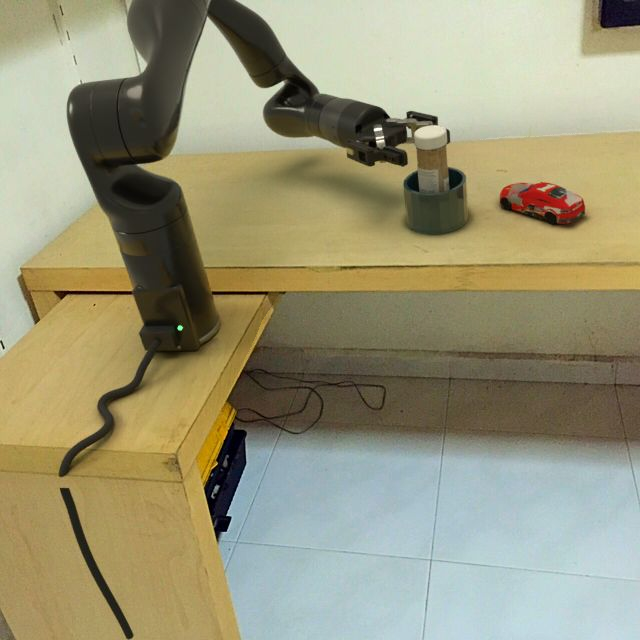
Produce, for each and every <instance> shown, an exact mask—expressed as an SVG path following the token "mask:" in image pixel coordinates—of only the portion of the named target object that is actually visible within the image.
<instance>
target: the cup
mask: <svg viewBox="0 0 640 640" xmlns="http://www.w3.org/2000/svg"><path fill="white" fill-rule="evenodd" d="M448 175H449V189H450V190H448V191H444V192H439V193H420V191H419V180H418V170H415V171H413V172H412V173H410V174H408V175H407V176H406V177H405V178H404V179H403V183H402V186H403V196H404V207H405V208H404V209H405V216H406V217H405V218H406V223H407V226H408V228H410V229H411V230H412V231H413V232H415V233H419V234H421V235H422V234H423V235H431V236H432V235H434V236H435V235H444V234H449V233H452V232H455V231H457V230H459V229H461V228H462V227H464V225H466V223H467V222H468V219H469V215H468V214H469V213H468V211H469V210H468V208H469V207H468V188H467V187H468V186H467V175H466V174H465V173H464V171H462V170H460V169H459V168H455V167H451V166H448Z"/></svg>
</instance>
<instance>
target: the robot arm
mask: <svg viewBox="0 0 640 640" xmlns="http://www.w3.org/2000/svg"><path fill="white" fill-rule="evenodd" d="M208 19H209V21H210V22H211V23H212V24H213V25H214V26H215V27H216V29H217V30H218V31H219V32H220V34H221V35H222V36H223V38H224V39H225V40H226V41H227V43H228V45H229V46H230V47H231V49H232V50H233V52H234V53H235V55H236V57H237V58H238V61H239V62H240V63H241V66H243V68H244V70H245V72H246V73H247V75H248V77H249V78H250V79H251V81H252V82H253V84H254V85H255V86H256V87H258V88H260V89H269V88H272V87H274V86H276V85H279V84H281V83H282V82H283V83H284V84H283V85H282V86H281V87H280V88H279V89H278V90H277V91H276V92H275V93H274V94H272V96H271V97H270V98H269V99H268V100H267V101H266V102H265V104H264V106H263V108H262V118H263V121H264V123H265V125H266V127H267V128H269V130H270V131H272V132H273V133H275V134H276V135H279V136H281V137H283V138H291V139H297V138H312V137H313V138H314V137H316V138H319V139H322V140H325V141H328V142H330V143H332V144H333V145H335V146H337V147H340V148H343V149H345V151H346V158H348V159H350V160H352V161H353V162H356V163H359V164H362V165H364V166H366V167H371V168H372V167H375V166H376V163H377V162H378V163H379V164H386V163H388V164H391V165H394V166H399V167H402V168H404V167H406V166H408V165H409V159H408V153H407V151H406V150H404V149H401V148H398V146H400V145H409V144H412V145H413V144H415V142H414V133H415V131H416V130H418V129H419V128H422V127H425V126H431V125H437V126H439V117H438V116H437V115H432V114H428V113H423V112H420V111H419V112H418V111H414V110H409V111H406V112H405V115H406V117H405V118H403V119H402V118H397V117H390V115H389V114H388V113H387V112H386V111H385V109H384V108H383V107H380V106H378V105H375V104H372V103H371V104H370V103H367V102H364V101H360V100H356V99H352V98H347V97H346V98H345V97H340V96H339V97H338V96H335V95H332V94H327V93H321V92H320V90H319V88H318V87H317V86H316V84H315V83H314V82H313V81H312V80H311V79H310V78H309V77H307V76H306V74H304V73H303V72H302V71H301V70H300V69H299V68H298V67H297V65H295V63H294V62H293V61H292V60H291V59H290V57H288V55H287V53H286V51H285V49H284V47H283V46H282V44H281V42H280V41H279V39H278V37H277V35H276V34H275V31H274V30H273V28H272V27H271V26H270V24H269V23H268V22H267V21H266V20H265V19H264V18H263V17H262V16H261V15H259V14H258V13H257V12H255V11H254V10H252V9H251V8H249V7H248V6H246V5H244V4H243V3H241V2H239V1H238V0H131V2H130V4H129V8H128V10H127V15H126V27H127V32H128V35H129V39H130V41H131V43H132V45H133V47H134V48H135V50H136V51H137V54H138V55H139V56H140V57H141V58H142V59H143V61H144V62H145V64H146V66H145V68H144V69H143V71H142V72H141V73H140V74H137V75H135V76H129V77H128V76H127V77H121V78H110V79H103V80H94V81H87V82H83V83H80V84H77V85H76V86H74V87H73V88H72V89H71V91H70V92H69V95H68V97H67V101H66V122H67V126H68V127H67V128H68V131H69V135H70V138H71V142H72V144H73V147H74V149H75V152H76V155H77V157H78V159H79V161H80V164H81V166H82V168H83V171H84V173H85V175H86V177H87V180H88V182H89V184H90V185H89V186H90V187H91V190H92V193H93V195H94V197H95V200H96V202H97V204H98V206H99V208H100V209H101V211H102V212H103V213H104V214H105V215H106V217H107V219H108V222H109V224H110V227H111V229H112V233H113V235H114V238H115V240H116V244H117V247H118V249H119V252H120V255H121V258H122V261H123V263H124V266H125V270H126V272H127V275H128V277H129V281H130V283H131V286H132V290H131V293H132V296H133V299H134V303H135V305H136V307H137V310H138V313H139V315H140V318H141V321H142V324H143V325H142V327H141V329H140V330H139V332H138V335H139V338H140V341H141V344H142V347H143V349H144V351H146V352H145V354H144V356H143V357H142V359H141V360H140V363H139V365H138V367H137V370H136V372H135V375H134V377H133V379H132V380H131V381H130V382H129V383H128V384H126V385H124V386H123V387H119V388H116V389H112V390H110V391H107V392H105V393H104V394H102V395H101V397H99V399H98V401H97V405H96V408H97V411H98V413H99V414H100V415H101V416H102V417H103V419H104V423H103V425H102V426H101V427H100V428H99V429H98V430H96V431H95V432H94V433H92V434H90V435H88V436H87V437H85V438H83V439H81V440H80V441H78V442H77V443H76V444H73V446H72V447H71V448H70V449H69V450H68V451H67V452H66V453H65V455H64V457H63V459H62V461H61V463H60V465H59V470H58V477H59V478H64V477H65V476H67V475H68V474H69V471H70V468H71V465H72V463H73V461H74V460H75V458H76V457H77V456H78V455H79V454H80V453H81V452H82V451H84V450H85V449H87V448H89V447H90V446H92V445H94V444H96V443H97V442H100V441H101V440H102V439H103V438H105V437H106V436H107V435H108V434H109V433H110V432H111V431H112V429H113V427H114V424H115V423H114V422H115V417H114V415H113V414H112V412H111V411H110V410H109V408H107V404H108V403H109V402H110V401H111V400H113V399H116V398H120V397H123V396H126V395H128V394H131V393H132V392H133V391H135V390H136V389H137V388H138V387H139V386H140V384H141V383H142V382H143V380H144V376H145V374H146V371H147V369H148V367H149V365H150V363H151V362H152V360H153V358H154V357H155V354H156V353H157V352H181V351H182V352H185V351H198V350H199V349H200V347H201V345H203V344H204V343H206V342H207V341H209V340H211V338H213V337H214V336H215V335H216V334H217V333H218V331H219V329H220V327H221V324H222V323H221V321H222V320H221V316H220V313H219V311H218V309H217V305H216V302H215V298H214V295H213V292H212V288H211V285H210V282H209V278H208V275H207V271H206V268H205V264H204V260H203V257H202V253H201V250H200V246H199V243H198V240H197V236H196V232H195V229H194V225H193V221H192V218H191V215H190V211H189V208H188V204H187V200H186V197H185V194H184V191H183V189H182V186H181V185H180V184H179V183H178V182H177V181H176V180H174V179H172V178H171V177H168V176H165V175H161V174H158V173H154V172H152V171H149V170H147V169H145V168H143V167H141V165H144V164H153V163H157V162H160V161H163V160H165V159H166V158H168V157H169V156H170V155H171V153H172V151H173V149H174V147H175V145H176V142H177V139H178V135H179V131H180V125H181V121H182V120H181V119H182V114H183V110H184V109H183V107H184V102H185V96H186V91H187V85H188V79H189V76H190V72H191V69H192V65H193V62H194V59H195V56H196V55H195V54H196V51H197V49H198V47H199V43H200V41H201V38H202V36H203V33H204V29H205V26H206V23H207V20H208ZM408 129H409V130H410V131H411V136H408ZM445 129H446V131H447V143H446V144H447V145H448V144H449V145H450V143H451V132H450V130H449V129H448V128H445ZM59 491H60V495H61V497H62V501H63V503H64V505H65V509H66V511H67V514H68V517H69V521H70V524H71V528H72V530H73V534H74V537H75V540H76V542H77V545H78V547H79V550H80V552H81V555H82V557H83V559H84V562H85V564H86V566H87V568H88V570H89V572H90V575H91V576H92V578H93V580H94V583H96V585H97V588H98V589H99V591H100V592H101V594H102V596H103V598H104V600H105V601H106V603H107V605H108V606H109V608H110V610H111V612H112V614H113V615H114V617H115V619H116V620H117V623H118V625H119V626H120V628H121V630H122V633H123V634H124V636H125V638H126V640H131V639H133V638H134V635H135V634H134V632H133V630H132V628H131V626H130V623H129V622H128V619H127V617H126V615H125V613H124V612H123V610H122V608H121V606H120V604H119V603H118V600H117V599H116V597H115V596H114V594H113V592H112V590H111V589H110V586H109V585H108V583H107V581H106V579H105V578H104V576H103V574H102V572H101V570H100V568H99V566H98V564H97V562H96V560H95V558H94V555H93V553H92V551H91V548H90V546H89V543H88V541H87V538H86V535H85V532H84V529H83V526H82V523H81V520H80V516H79V513H78V510H77V506H76V504H75V500H74V498H73V494H72V492H71V489H70V487H59Z"/></svg>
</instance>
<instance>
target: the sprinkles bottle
mask: <svg viewBox="0 0 640 640" xmlns="http://www.w3.org/2000/svg"><path fill="white" fill-rule="evenodd" d="M446 129H447V128H445V127H443V126H441V125H438V126H437V125H431V126H425V127H422V128H419V129H418V130H416V131H415V133H414V142H415V143H414V147H415V149H416V160H417V161H416V162H417V165H416V166H417V171H418V180H419V191H420V193H439V192H444V191H448V190H450V189H449V175H448V167H449V166H448V155H447V154H448V153H447V145H448V144H446V143H447V131H446Z"/></svg>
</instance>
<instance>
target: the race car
mask: <svg viewBox="0 0 640 640" xmlns="http://www.w3.org/2000/svg"><path fill="white" fill-rule="evenodd" d="M499 204H500V205H501V207H502V208H503V209H504V210H505V211H510V210H513V211H516V212H518V213H519V212H520V213H522V214H526V215H528V216H532V217H535V218H537V219H541V220H545V221H546V222H547V223H548V224H550V225H554V224H563V225H565V224H570V223H574V222H575V221H577V220H578V219H579V218H581V217H582V216H584V215H586V204H585V201H584V198H583V197H582V196H580V195H578V194H577V193H574V192H572V191H571V190H569V189H567V188H565V187H562V186H560V185H557V184H556V183H555V184H554V183H551V182H546V181H540V182H538V183H528V182H515V183H510V184H508V185H506V186H504V187H503V188H502V189H501V191H500V193H499Z"/></svg>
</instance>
